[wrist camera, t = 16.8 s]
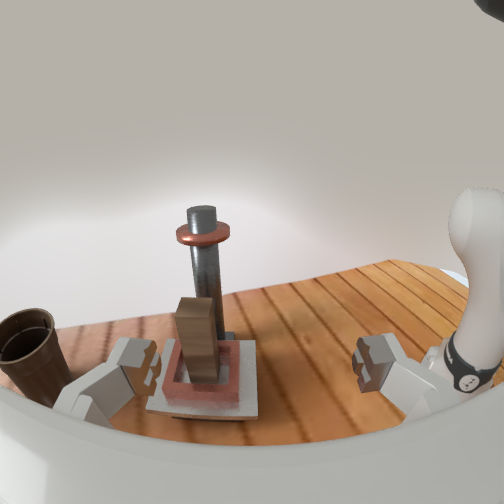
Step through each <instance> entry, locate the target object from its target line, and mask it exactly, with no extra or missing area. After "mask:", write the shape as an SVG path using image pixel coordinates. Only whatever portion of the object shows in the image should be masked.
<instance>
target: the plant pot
mask: <svg viewBox="0 0 504 504" xmlns="http://www.w3.org/2000/svg"><path fill="white" fill-rule="evenodd" d="M0 368H1V370H2V371H3V372H4V373H5V374H7V375H8V376H9V378H10V379H11V380H12V381H13V382H14V383H15V385H16V386H17V387H18V388H19V389H20V390H21V392H22V393H23V394H24V395H25V396H26V397H27V398H28V399H30V400H32V401H34V402H36V403H39V404H41V405H43V406H46V407H48V408H51V409H52V408H53V406H54V405H55V403H56V401H57V399H58V397H59V395H60V393H61V391H62V389H63V388H64V387H65V386H67V385H69V384H70V383H72V382H73V381H75V380H74V378H73V376H72V374H71V372H70V370H69V368H68V366H67V363H66V361H65V359H64V356H63V354H62V351H61V349H60V346H59V344H58V337H57V334H56V331H55V328H54V319H53V317H52V315H51V314H50V313H49V312H48V311H46V310H43V309H38V308H32V309H25V310H22V311H19V312H16V313H14V314H12V315H10V316H9V317H7V318H6V319H4V320H3V321H2V322H1V323H0Z"/></svg>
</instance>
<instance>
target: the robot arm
mask: <svg viewBox="0 0 504 504" xmlns="http://www.w3.org/2000/svg"><path fill="white" fill-rule="evenodd" d="M474 2H475V3H476V4H477V5H478V6H479V7H480V8H481V10H482V11H483V12H485V13H487V14H488V15H490V16H492V17H494V18H496V19H498V20H500V21H502V22H504V0H474ZM448 228H449V236H450V241H451V244H452V246H453V248H454V251H455V252H456V254H457V255H458V257H459V258H460V260H461V261H462V263H463V265H464V267H465V270H466V273H467V276H468V281H469V296H468V301H467V304H466V308H465V311H464V313H463V316H462V319H461V321H460V324H459V326H458V328H457V330H456V331H455V332H454V333H453V334H452V335H451V337H447V338H444V339H443V340H442V342H441V344H440V346H432V347H430V348H429V350H428V351H427V353H426V355H425V357H424V359H423V360H422V362H421V364H420V363H418V362H417V361H415V360H413V359H412V358H407V356H406V354H405V352H404V351H403V349H402V347H401V345H400V344H399V342H398V340H397V338H396V337H395V335H394V334H393V333H386V334H381V335H373V336H365V337H359V339H358V341H357V344H356V345H357V347H358V349H357V350H355V351H354V353H353V357H352V366H353V370H354V373H355V374H356V375H358V376H359V378H358V381H357V382H358V385H359V388H360V391H361V393H366V392H373V391H379V390H380V392H381V393H382V394H383V395H384V396H385V397H387V398H388V399H389V400H390V401H391V402H392V403H393V404H394V405H396V406H397V407H398V408H399V409H400V410H401V411H402V412H403V413H405V414H406V415H407V416H406V418H405V419H404V420H403V422H402V423H401V424H400V425H398V426H395V427H391V428H387V429H384V430H380V431H375V432H371V433H367V434H362V435H357V436H352V437H346V438H341V439H334V440H328V441H320V442H312V443H302V444H290V445H273V446H225V445H207V444H196V443H186V442H178V441H171V440H164V439H158V438H152V437H146V436H141V435H136V434H132V433H127V432H123V431H119V430H115V428H114V427H113V426H112V425H111V423H110V422H109V421H108V420H109V419H110V418H111V417H112V416H113V415H114V414H115V413H116V412H117V411H119V410H120V409H121V408H122V407H123V406H124V405H125V404H126V403H127V402H128V401H129V400H130V399H131V398H132V397H133V396H135V394H138V395H145V396H154V393H155V390H156V386H157V383H156V380H155V379H157V378H158V377H159V376H160V373H161V367H162V362H161V357H160V355H159V354H158V353H157V352H156V349H157V345H156V342H155V341H153V340H146V339H138V338H128V337H120V338H119V339H118V341H117V342H116V344H115V346H114V348H113V350H112V352H111V354H110V356H109V358H108V360H107V362H106V363H102V364H100V365H98V366H97V367H95V368H94V369H92V370H91V371H89V372H87V373H86V374H84V375H83V376H81V377H80V378H78V379H76V380H75V381H73V382H72V383H70V384H69V385H67V386H65V387H64V388H63V389H62V391H61V393H60V395H59V397H58V399H57V401H56V403H55V405H54V406H53V408H52V409H51V408H48V407H46V406H43V405H41V404H39V403H36V402H34V401H32V400H30V399H28V398H26V397H24V396H21V395H19V394H17V393H15V392H14V391H12V390H10V389H8V388H6V387H4V386H2V385H0V504H504V382H502V383H500V384H499V385H497V386H495V387H493V388H491V389H490V387H491V386H492V384H493V376H494V375H495V374H496V372H497V371H498V369H499V367H500V365H501V363H502V358H503V357H504V192H502V191H499V190H496V189H489V188H466V189H465V190H464V191H462V192H461V193H460V194H459V196H458V197H457V198H456V200H455V202H454V203H453V206H452V208H451V211H450V215H449V223H448Z"/></svg>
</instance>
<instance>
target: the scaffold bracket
mask: <svg viewBox="0 0 504 504" xmlns="http://www.w3.org/2000/svg"><path fill="white" fill-rule="evenodd" d="M187 220H188V224H185V225H183V226H181V227H179V228H178V229H177V230H176V236H177V241H178V242H180V243H181V244H184V245H188V246H190V250H191V259H192V268H193V276H194V284H195V291H196V298H212V299H213V308H214V318H215V326H216V335H217V343H218V351H219V358H220V372H219V382H218V384H198V383H191V382H190V379H189V375H188V371H187V367H186V364H185V360H184V356H183V352H182V348H181V343H180V339H167V341H166V344H165V347H164V350H163V353H162V356H161V362H162V367H161V373H160V376H159V377H158V378H157V379H155V380H156V383H157V386H156V390H155V393H154V396H149V398H148V401H147V405H146V408H145V409H146V411H147V413H151V414H158V415H166V416H172V418H177V419H187V420H200V421H220V422H242V420H258V403H257V376H256V348H255V340H234V332H225V327H224V316H223V304H222V293H221V279H220V266H219V251H218V243H220V242H223V241H225V240H226V239H228V238H229V236H230V227H229V225H227V224H226V223H223V222H219V221H217V219H216V207H214V206H207V205H206V206H195V207H191V208H189V209H187Z"/></svg>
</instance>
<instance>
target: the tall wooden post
mask: <svg viewBox="0 0 504 504" xmlns="http://www.w3.org/2000/svg"><path fill="white" fill-rule="evenodd" d="M174 317H175V321H176V326H177V330H178V335H179V339H180V343H181V348H182V352H183V356H184V360H185V364H186V367H187V371H188V375H189V379H190V382H191V383H198V384H218V382H219V372H220V358H219V351H218V343H217V335H216V326H215V318H214V308H213V299H212V298H188V297H187V298H186V297H184V298H183V297H182V298H181V300H180V303H179V305H178V308H177V311H176V314H175V316H174Z"/></svg>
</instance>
